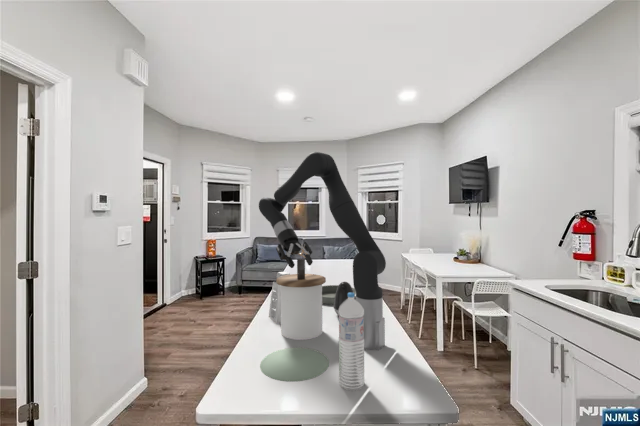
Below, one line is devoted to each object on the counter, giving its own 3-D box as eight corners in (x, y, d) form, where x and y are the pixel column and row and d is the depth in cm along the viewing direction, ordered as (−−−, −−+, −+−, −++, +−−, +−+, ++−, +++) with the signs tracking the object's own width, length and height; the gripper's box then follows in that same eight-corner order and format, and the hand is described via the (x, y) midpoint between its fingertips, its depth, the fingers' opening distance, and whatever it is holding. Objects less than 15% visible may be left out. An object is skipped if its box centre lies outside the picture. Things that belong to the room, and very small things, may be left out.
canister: (326, 327, 127) (326, 278, 126) (315, 343, 111) (315, 287, 111) (289, 323, 131) (289, 276, 131) (274, 338, 116) (273, 284, 115)
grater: (277, 324, 131) (276, 276, 130) (268, 316, 140) (268, 272, 140) (299, 319, 136) (299, 273, 135) (290, 312, 145) (290, 269, 145)
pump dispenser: (331, 318, 137) (331, 283, 137) (335, 311, 147) (335, 278, 147) (354, 320, 134) (354, 285, 134) (357, 312, 144) (357, 279, 144)
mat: (340, 358, 100) (340, 356, 100) (304, 391, 82) (304, 389, 82) (287, 344, 110) (287, 342, 110) (245, 371, 92) (245, 369, 92)
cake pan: (305, 295, 176) (305, 287, 176) (346, 291, 184) (346, 283, 184) (319, 308, 153) (319, 298, 153) (364, 302, 160) (364, 294, 160)
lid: (334, 279, 124) (334, 257, 124) (308, 289, 108) (308, 265, 108) (294, 274, 134) (294, 254, 134) (266, 283, 118) (265, 261, 118)
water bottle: (348, 376, 89) (347, 288, 89) (369, 384, 85) (368, 292, 84) (333, 386, 84) (333, 293, 84) (355, 396, 79) (354, 298, 79)
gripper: (273, 228, 122) (290, 261, 114) (303, 227, 132) (320, 257, 123) (267, 241, 127) (282, 273, 118) (295, 238, 136) (312, 269, 127)
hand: (302, 265), depth 120 cm, fingers open, 8 cm apart
